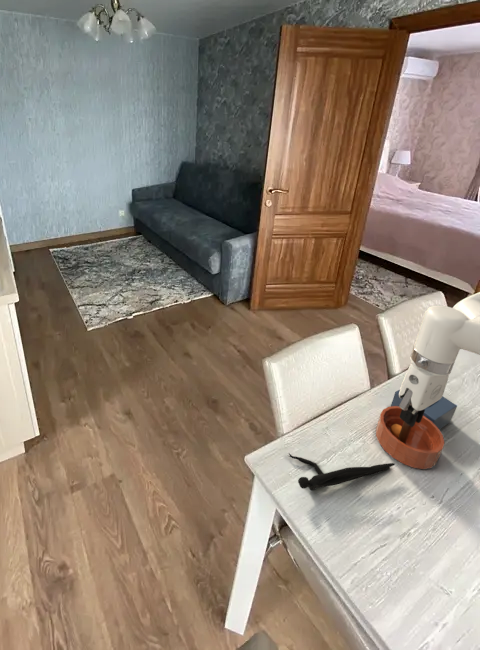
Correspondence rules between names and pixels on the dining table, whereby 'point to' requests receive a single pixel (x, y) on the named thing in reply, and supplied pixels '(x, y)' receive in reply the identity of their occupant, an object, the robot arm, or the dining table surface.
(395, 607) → the dining table surface
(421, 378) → the robot arm
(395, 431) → the ball
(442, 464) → the dining table surface
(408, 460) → the bowl
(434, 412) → the holder
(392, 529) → the dining table surface
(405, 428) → the stick
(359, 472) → the dark humanoid figurine
